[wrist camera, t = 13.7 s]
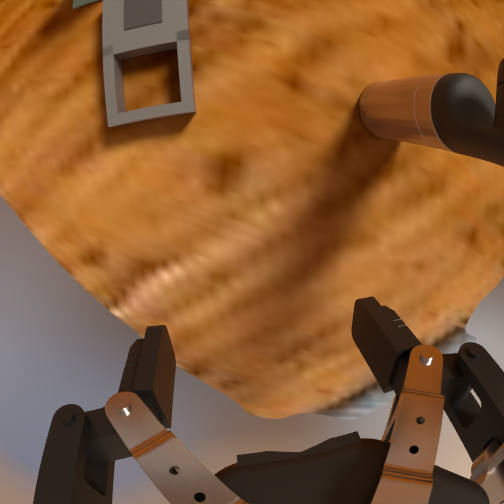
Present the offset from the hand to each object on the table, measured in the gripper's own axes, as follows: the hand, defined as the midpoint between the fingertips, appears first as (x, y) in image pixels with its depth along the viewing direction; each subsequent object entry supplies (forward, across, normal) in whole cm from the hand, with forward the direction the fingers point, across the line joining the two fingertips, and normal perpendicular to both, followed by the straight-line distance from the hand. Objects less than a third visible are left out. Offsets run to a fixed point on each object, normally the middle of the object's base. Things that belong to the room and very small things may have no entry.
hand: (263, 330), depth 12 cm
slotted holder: (+33, +9, -21) cm, 40 cm away
